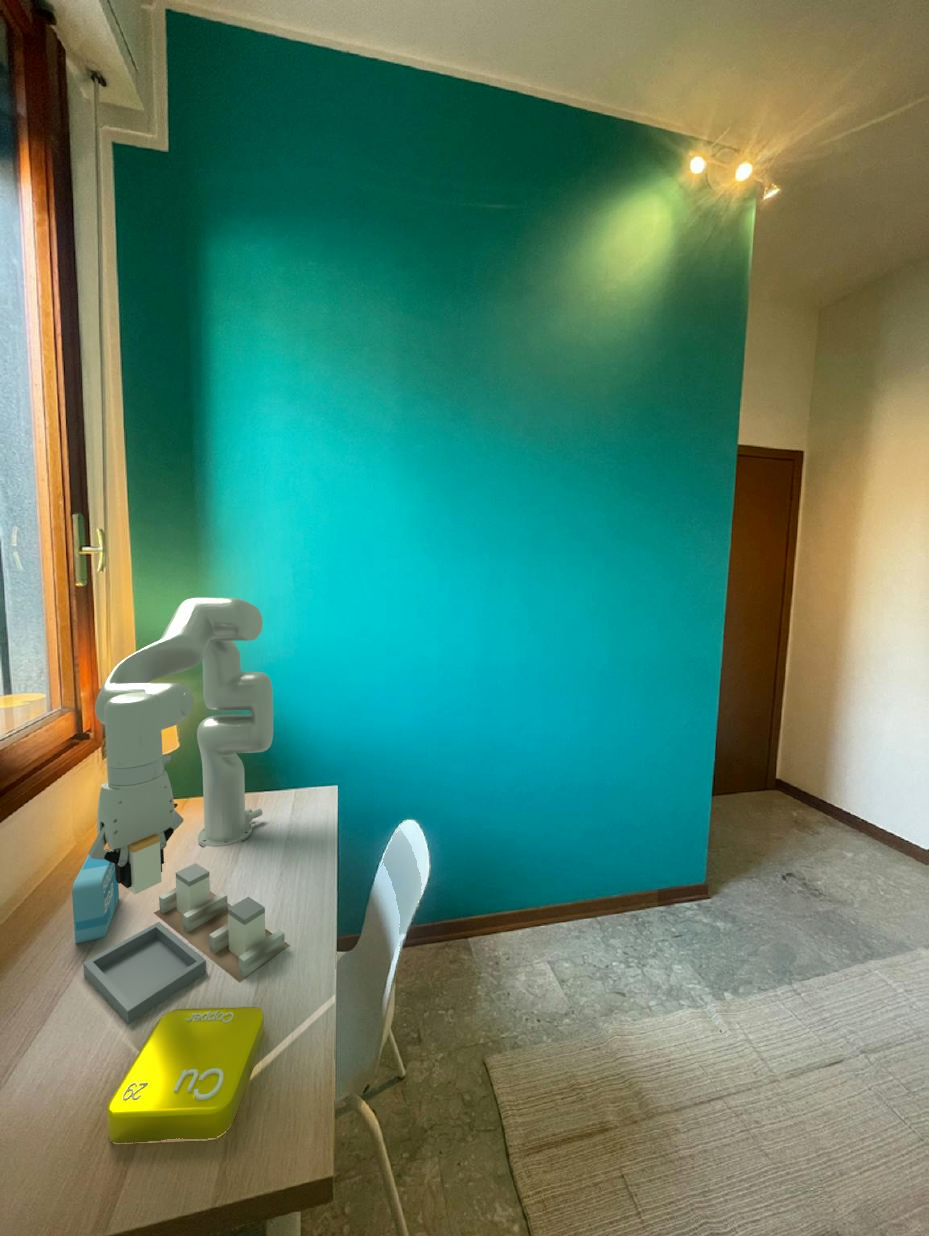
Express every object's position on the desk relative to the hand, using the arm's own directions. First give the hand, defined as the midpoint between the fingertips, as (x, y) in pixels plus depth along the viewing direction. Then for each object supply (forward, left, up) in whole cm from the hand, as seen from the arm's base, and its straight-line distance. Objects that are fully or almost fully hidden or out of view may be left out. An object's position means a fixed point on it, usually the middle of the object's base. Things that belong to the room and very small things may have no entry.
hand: (140, 876), depth 83 cm
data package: (-1, -21, -19) cm, 28 cm away
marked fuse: (0, 0, -1) cm, 1 cm away
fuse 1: (-13, -9, -18) cm, 24 cm away
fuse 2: (-13, +9, -18) cm, 24 cm away
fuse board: (-13, 0, -18) cm, 22 cm away
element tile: (+4, +23, -19) cm, 30 cm away
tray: (0, 0, -18) cm, 18 cm away
